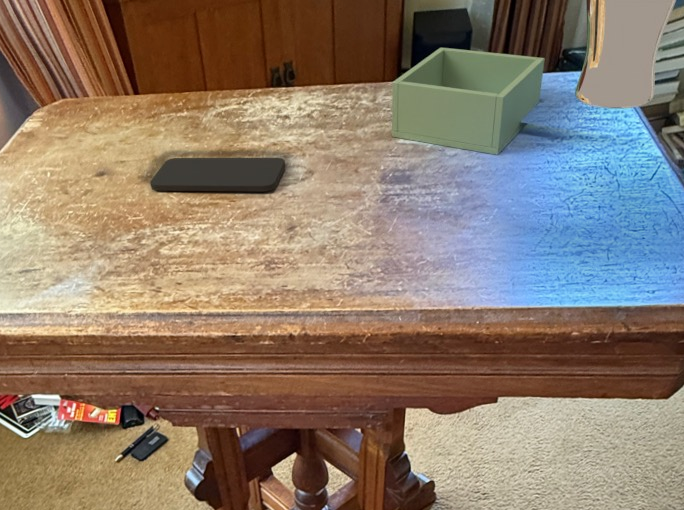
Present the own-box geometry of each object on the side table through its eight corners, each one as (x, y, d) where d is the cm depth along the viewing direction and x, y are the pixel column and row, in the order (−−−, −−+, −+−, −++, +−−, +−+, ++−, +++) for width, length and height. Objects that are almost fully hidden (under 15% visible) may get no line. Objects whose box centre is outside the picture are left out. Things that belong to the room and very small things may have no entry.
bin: (537, 112, 91) (544, 58, 87) (497, 155, 83) (503, 97, 78) (438, 98, 98) (440, 47, 93) (391, 136, 89) (391, 82, 85)
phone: (167, 157, 88) (286, 157, 85) (169, 163, 89) (287, 163, 85) (146, 185, 83) (273, 186, 79) (148, 192, 83) (274, 193, 80)
